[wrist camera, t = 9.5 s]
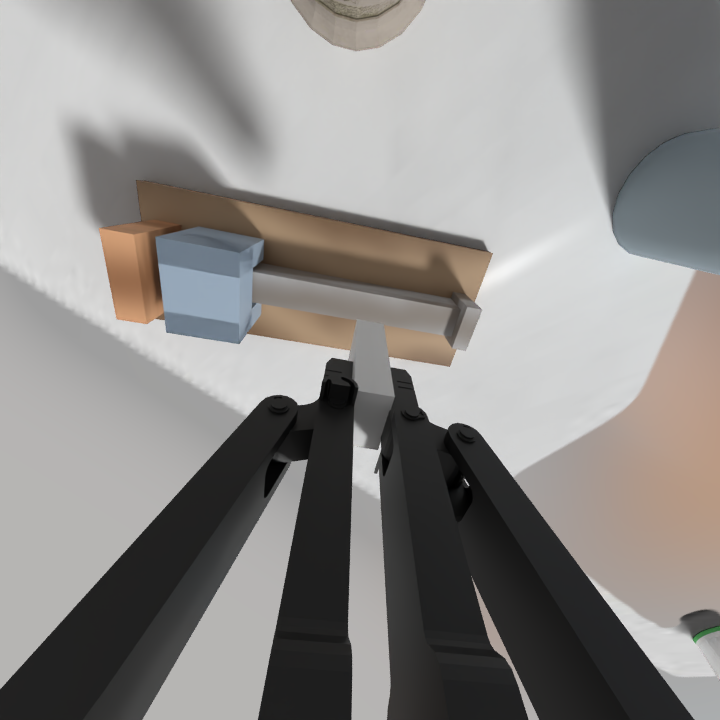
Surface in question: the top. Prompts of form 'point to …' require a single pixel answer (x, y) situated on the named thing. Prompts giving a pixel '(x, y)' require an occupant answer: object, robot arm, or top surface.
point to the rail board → (332, 260)
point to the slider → (208, 283)
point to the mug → (358, 20)
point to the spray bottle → (674, 203)
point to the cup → (710, 647)
